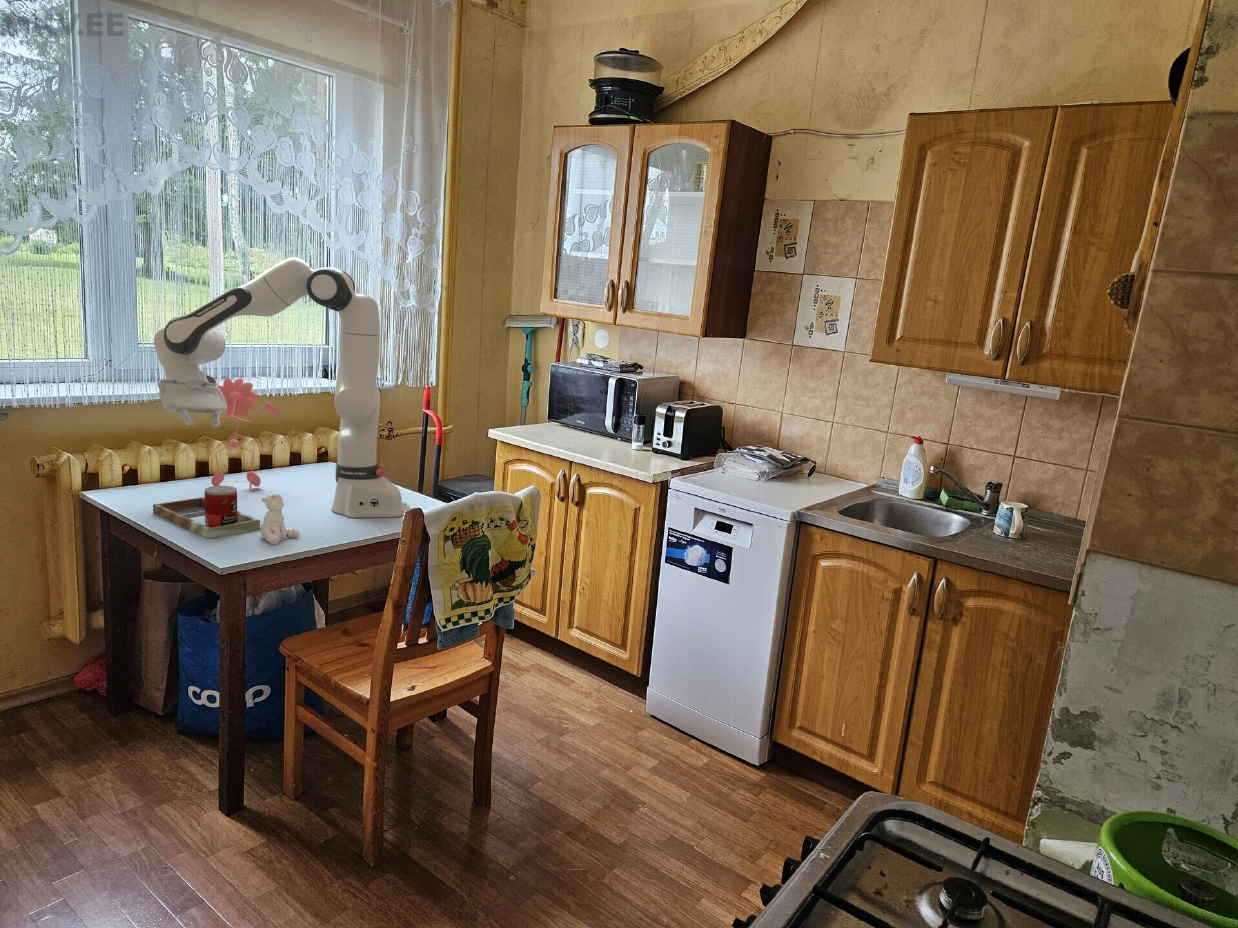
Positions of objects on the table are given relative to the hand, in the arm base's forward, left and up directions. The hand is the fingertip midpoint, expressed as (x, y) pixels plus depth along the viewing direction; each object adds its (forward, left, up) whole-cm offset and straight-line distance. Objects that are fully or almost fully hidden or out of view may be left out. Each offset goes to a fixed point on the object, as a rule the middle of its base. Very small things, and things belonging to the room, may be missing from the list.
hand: (204, 425), depth 229 cm
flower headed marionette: (-1, -28, -25) cm, 37 cm away
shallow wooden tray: (-4, +11, -24) cm, 27 cm away
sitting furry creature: (-25, +24, -25) cm, 43 cm away
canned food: (-10, +18, -25) cm, 32 cm away
